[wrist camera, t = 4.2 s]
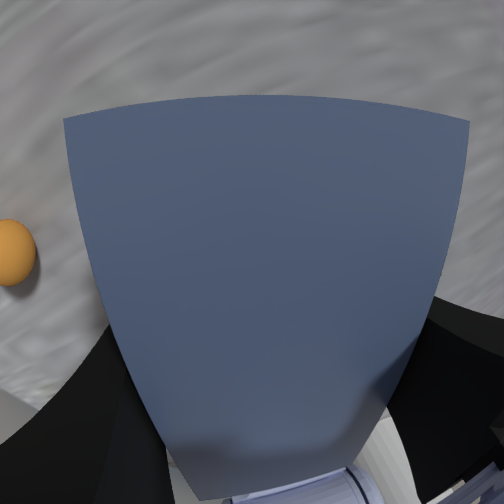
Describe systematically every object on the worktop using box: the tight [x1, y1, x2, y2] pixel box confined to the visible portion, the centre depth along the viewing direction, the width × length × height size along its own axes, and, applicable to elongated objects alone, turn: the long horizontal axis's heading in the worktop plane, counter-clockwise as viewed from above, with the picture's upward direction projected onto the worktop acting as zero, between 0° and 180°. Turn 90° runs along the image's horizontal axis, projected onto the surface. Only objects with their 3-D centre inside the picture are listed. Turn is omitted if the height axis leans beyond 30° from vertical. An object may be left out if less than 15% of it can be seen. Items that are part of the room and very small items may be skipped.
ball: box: [0, 219, 36, 286], centre depth 13 cm, size 4×4×4 cm
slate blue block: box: [63, 95, 470, 501], centre depth 8 cm, size 12×6×5 cm, turn 1°
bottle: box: [353, 417, 453, 504], centre depth 27 cm, size 12×12×25 cm
